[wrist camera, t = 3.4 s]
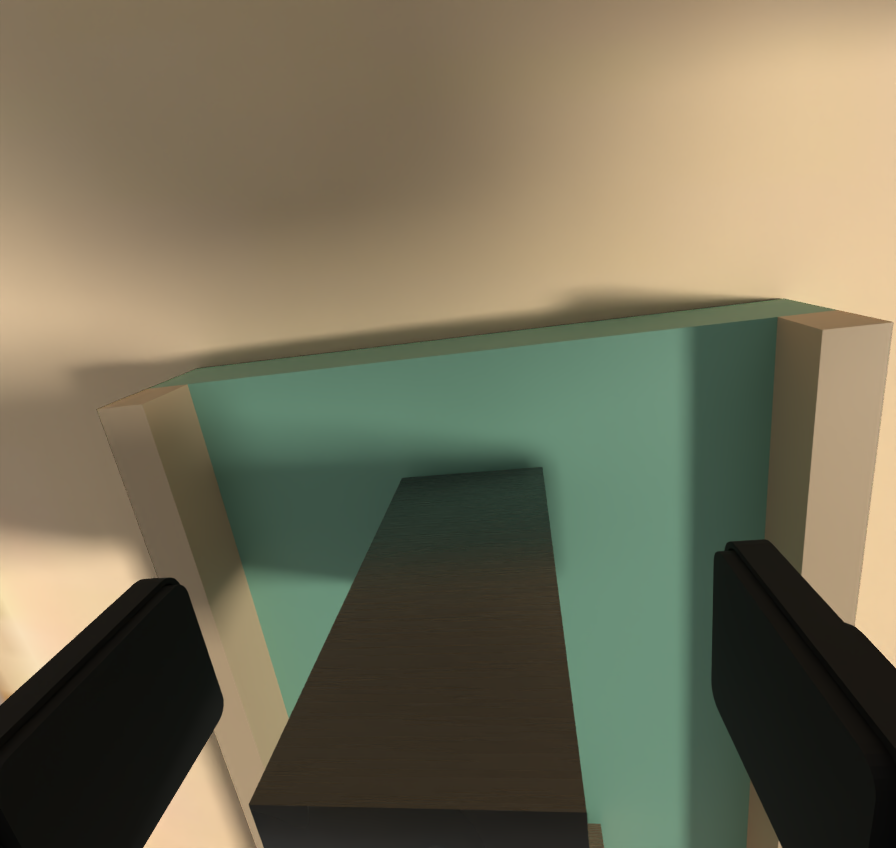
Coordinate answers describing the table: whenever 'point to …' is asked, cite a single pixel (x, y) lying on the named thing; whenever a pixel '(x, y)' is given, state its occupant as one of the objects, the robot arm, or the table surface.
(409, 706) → the kicker rod
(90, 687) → the robot arm
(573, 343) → the pitch board
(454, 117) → the table surface
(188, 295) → the table surface
